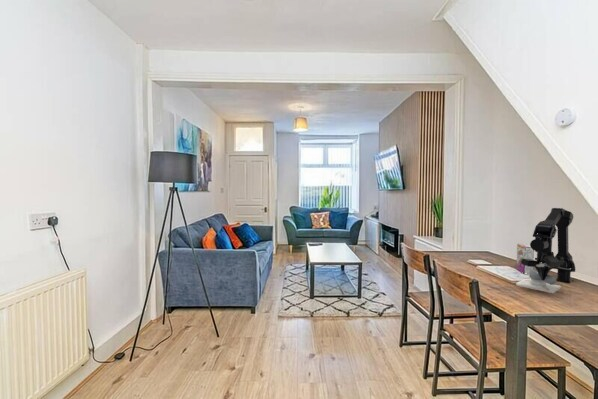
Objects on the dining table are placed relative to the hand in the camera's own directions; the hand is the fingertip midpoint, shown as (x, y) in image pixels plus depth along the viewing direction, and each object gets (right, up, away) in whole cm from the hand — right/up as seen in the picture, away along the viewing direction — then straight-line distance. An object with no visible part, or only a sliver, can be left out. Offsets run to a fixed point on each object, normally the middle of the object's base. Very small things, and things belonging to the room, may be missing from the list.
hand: (542, 279), depth 165 cm
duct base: (+4, -6, +9) cm, 11 cm away
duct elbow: (+4, -1, +5) cm, 6 cm away
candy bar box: (+16, -4, +37) cm, 41 cm away
